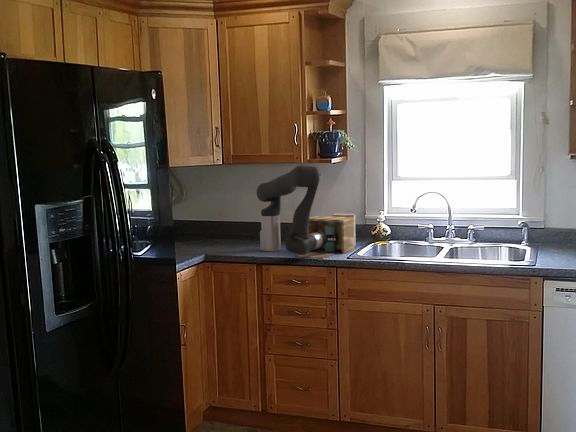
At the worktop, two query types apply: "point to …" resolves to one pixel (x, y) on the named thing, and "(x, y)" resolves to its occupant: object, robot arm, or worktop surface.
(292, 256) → the worktop surface
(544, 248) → the worktop surface
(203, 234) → the worktop surface
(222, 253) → the worktop surface
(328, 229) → the tin
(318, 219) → the cubby
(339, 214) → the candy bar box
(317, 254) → the trivet
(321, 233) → the robot arm
